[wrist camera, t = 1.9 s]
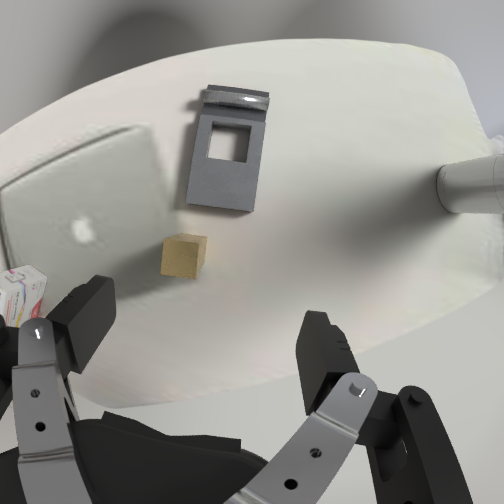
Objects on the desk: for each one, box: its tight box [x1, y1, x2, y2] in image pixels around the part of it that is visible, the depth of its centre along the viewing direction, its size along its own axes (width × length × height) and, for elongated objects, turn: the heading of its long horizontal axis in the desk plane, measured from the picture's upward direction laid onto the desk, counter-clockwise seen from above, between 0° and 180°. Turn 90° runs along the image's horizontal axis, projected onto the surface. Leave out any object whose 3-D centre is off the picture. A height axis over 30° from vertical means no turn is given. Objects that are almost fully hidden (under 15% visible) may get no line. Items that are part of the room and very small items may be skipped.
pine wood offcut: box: [161, 234, 207, 279], centre depth 34 cm, size 4×4×12 cm
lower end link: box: [202, 85, 270, 160], centre depth 37 cm, size 9×13×3 cm
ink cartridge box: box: [0, 265, 47, 328], centre depth 30 cm, size 9×5×15 cm, turn 152°
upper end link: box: [185, 114, 266, 212], centre depth 38 cm, size 9×12×2 cm
